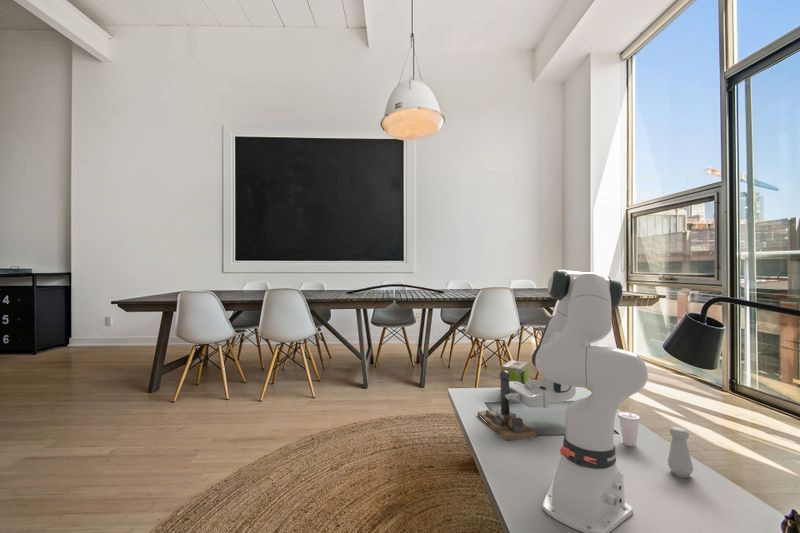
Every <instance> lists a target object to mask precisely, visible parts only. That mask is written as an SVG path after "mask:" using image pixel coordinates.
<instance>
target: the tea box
mask: <svg viewBox="0 0 800 533" xmlns="http://www.w3.org/2000/svg"><path fill="white" fill-rule="evenodd" d="M530 367H531V366H530V362H529V361H520V360H513V359H510V360H508V361H507V362H505V363H503V364H502V365H501V366H500V372H501V371H508V372H509V374H510V379H509V381H516V382H520V383H522V384H524V385H525V384H526V382H527V381H529V380H531V372H530V371H531V370H530V369H531V368H530Z"/></svg>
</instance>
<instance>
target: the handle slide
mask: <svg viewBox="0 0 800 533" xmlns="http://www.w3.org/2000/svg"><path fill="white" fill-rule="evenodd" d="M499 379H500V390H501V395H500V409H499V410H500V411H496V417H497V418H499V419H500V420H501V421H502V422H503V425H509V424H508V421H509V419H511V418H517V414H516V413H513V412H512V411H511V410H510V406H511V405H510V399H506V398H505V394H506V393H509V379H510V374H509V372H508V371H501V370H500V372H499Z"/></svg>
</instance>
